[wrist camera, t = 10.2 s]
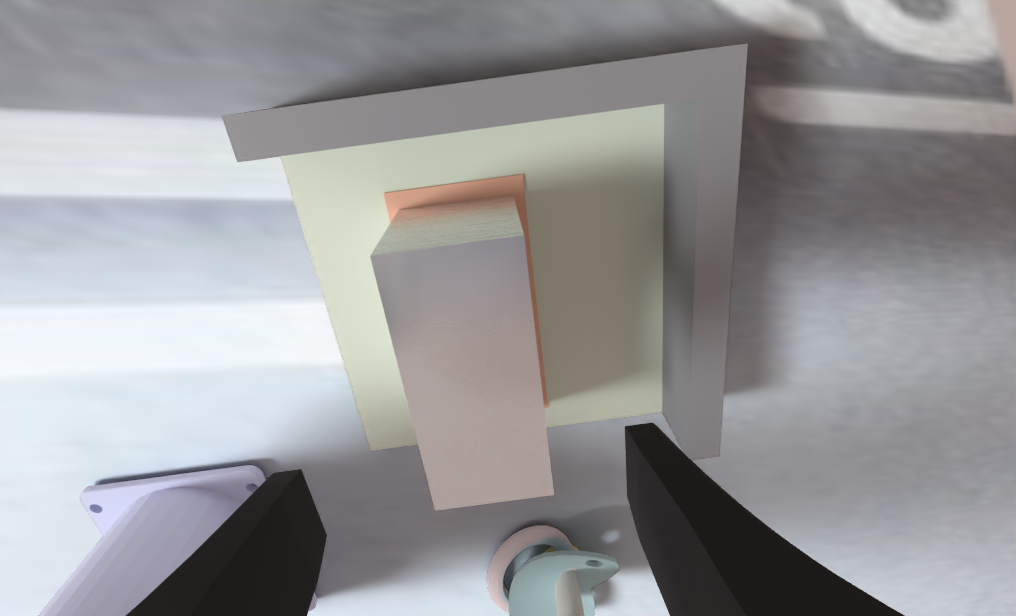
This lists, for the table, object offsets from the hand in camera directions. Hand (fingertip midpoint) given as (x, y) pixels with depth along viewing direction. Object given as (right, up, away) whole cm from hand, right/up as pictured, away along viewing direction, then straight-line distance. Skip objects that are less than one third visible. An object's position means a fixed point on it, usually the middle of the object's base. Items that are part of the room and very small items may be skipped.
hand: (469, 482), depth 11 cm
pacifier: (+3, -9, +15) cm, 18 cm away
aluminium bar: (0, +4, +8) cm, 9 cm away
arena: (+1, +5, +8) cm, 10 cm away
